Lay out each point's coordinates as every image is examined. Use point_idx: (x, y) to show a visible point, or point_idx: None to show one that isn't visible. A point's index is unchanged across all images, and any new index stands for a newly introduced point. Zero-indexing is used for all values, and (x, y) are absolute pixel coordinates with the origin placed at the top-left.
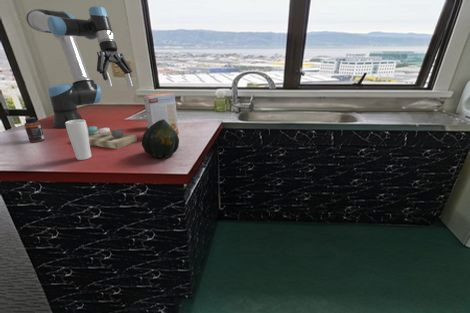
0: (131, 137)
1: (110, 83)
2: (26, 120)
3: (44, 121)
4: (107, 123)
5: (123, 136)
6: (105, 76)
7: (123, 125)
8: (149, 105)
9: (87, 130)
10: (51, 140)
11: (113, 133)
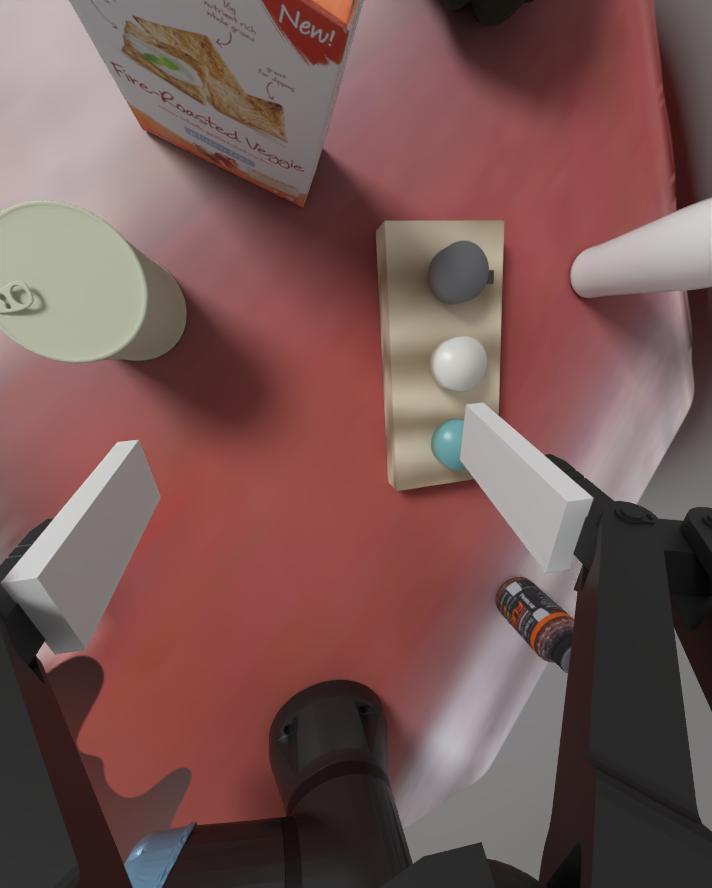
0: (415, 221)
1: (496, 416)
2: None
3: None
4: (216, 631)
5: (425, 267)
6: (575, 473)
7: (199, 529)
8: None
9: (680, 211)
10: (493, 563)
11: (485, 267)
